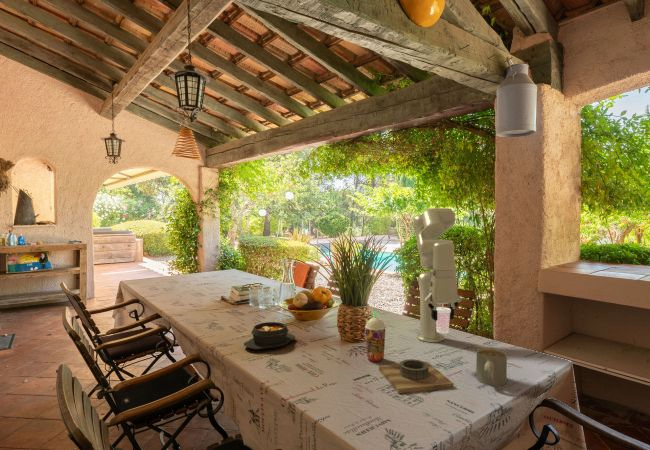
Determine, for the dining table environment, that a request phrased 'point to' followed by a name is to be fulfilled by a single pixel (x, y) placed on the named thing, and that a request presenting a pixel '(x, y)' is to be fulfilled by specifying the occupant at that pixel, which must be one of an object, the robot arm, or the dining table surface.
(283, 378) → the dining table surface
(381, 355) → the smoothie
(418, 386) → the socket board
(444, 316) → the beverage cup
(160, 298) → the dining table surface
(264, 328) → the casserole
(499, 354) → the coffee mug
